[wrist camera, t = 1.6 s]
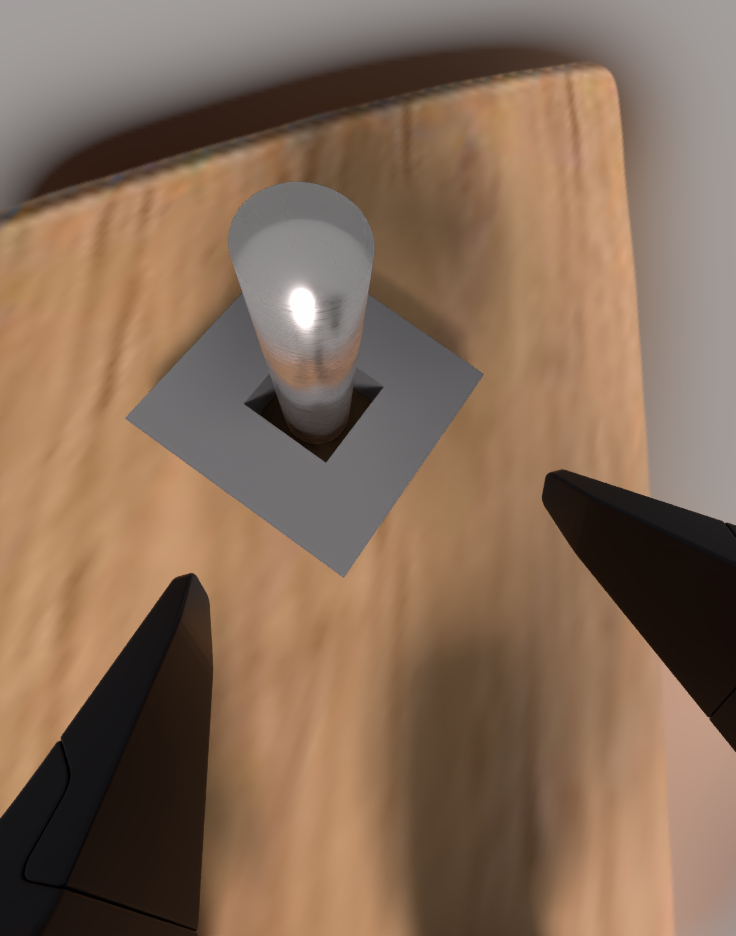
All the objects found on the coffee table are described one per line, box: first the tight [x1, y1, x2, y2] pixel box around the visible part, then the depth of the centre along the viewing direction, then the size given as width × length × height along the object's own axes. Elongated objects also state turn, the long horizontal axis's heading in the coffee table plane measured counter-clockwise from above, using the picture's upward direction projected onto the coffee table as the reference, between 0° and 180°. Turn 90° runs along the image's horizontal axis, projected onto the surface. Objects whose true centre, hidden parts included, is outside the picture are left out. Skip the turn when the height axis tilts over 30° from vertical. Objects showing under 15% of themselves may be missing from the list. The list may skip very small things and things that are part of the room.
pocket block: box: [125, 293, 484, 578], centre depth 23 cm, size 14×14×3 cm
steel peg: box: [228, 182, 375, 444], centre depth 18 cm, size 4×4×14 cm
